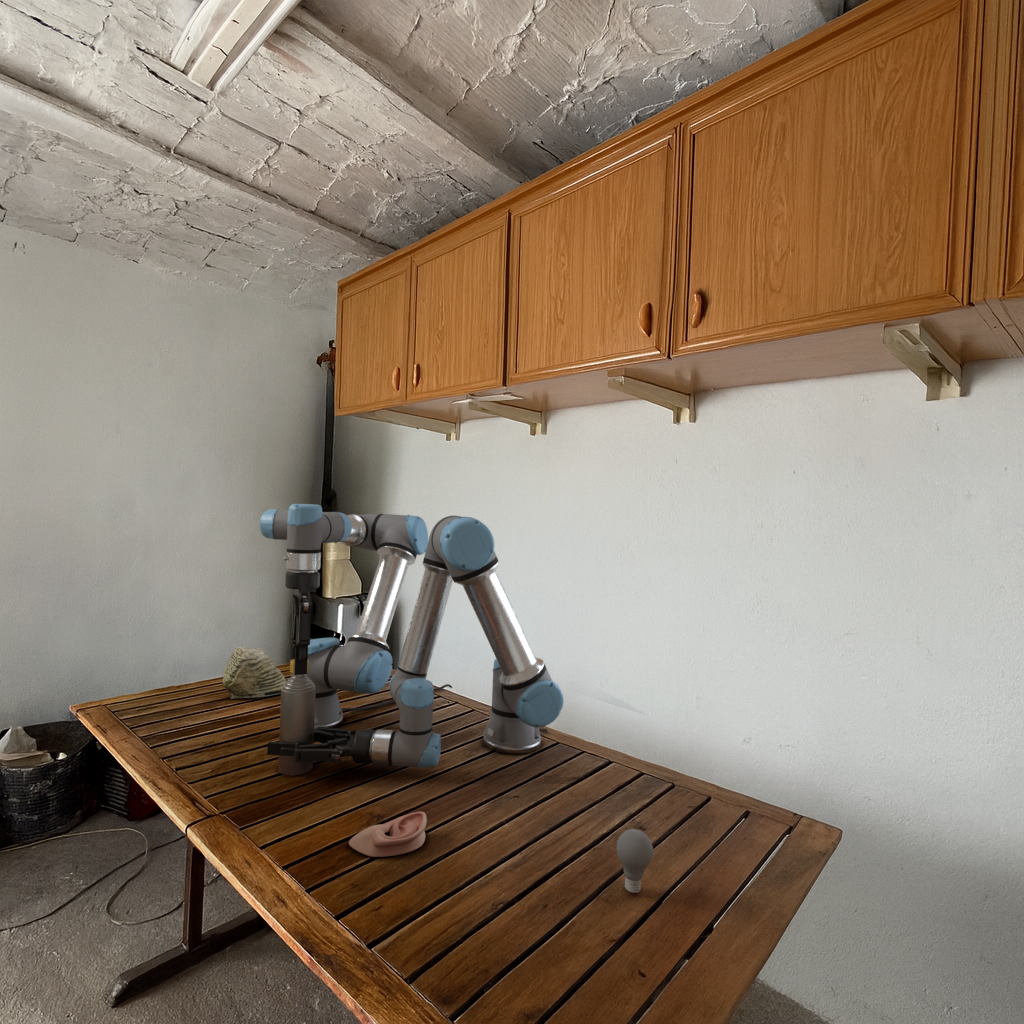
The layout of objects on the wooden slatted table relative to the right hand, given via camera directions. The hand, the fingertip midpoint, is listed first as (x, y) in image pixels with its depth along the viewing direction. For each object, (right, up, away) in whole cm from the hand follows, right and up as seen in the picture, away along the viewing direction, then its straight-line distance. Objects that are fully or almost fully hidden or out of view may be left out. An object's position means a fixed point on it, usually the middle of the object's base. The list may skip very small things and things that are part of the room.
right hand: (275, 741), depth 147 cm
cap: (+6, +18, -1) cm, 19 cm away
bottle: (+5, -6, 0) cm, 8 cm away
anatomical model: (+32, -8, -29) cm, 44 cm away
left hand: (+6, +16, 0) cm, 17 cm away
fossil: (-26, -4, +51) cm, 57 cm away
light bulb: (+75, -10, -41) cm, 86 cm away
